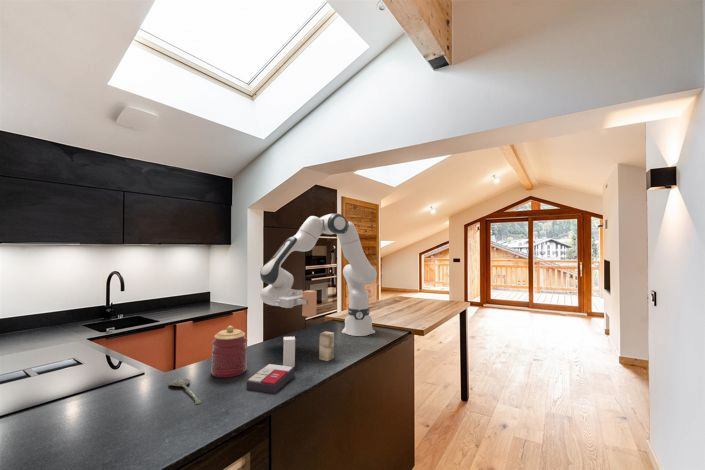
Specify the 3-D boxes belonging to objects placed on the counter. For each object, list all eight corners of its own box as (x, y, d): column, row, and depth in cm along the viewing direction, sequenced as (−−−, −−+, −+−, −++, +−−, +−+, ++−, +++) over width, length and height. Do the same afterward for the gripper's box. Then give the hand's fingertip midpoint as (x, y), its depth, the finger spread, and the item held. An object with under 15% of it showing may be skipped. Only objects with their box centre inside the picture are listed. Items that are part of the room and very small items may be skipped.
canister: (235, 380, 120) (236, 331, 121) (203, 376, 123) (204, 328, 124) (252, 367, 133) (253, 323, 134) (223, 364, 136) (224, 321, 136)
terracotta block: (308, 314, 153) (309, 290, 153) (316, 315, 151) (316, 291, 151) (302, 315, 149) (302, 291, 150) (309, 317, 147) (310, 292, 147)
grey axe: (186, 382, 120) (166, 388, 116) (186, 373, 120) (166, 378, 116) (208, 401, 104) (186, 409, 100) (208, 390, 104) (186, 398, 100)
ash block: (325, 356, 147) (325, 331, 148) (333, 358, 145) (334, 332, 145) (319, 359, 144) (319, 333, 144) (327, 361, 141) (327, 335, 141)
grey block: (283, 363, 137) (283, 336, 138) (294, 362, 138) (294, 336, 139) (283, 367, 133) (283, 340, 133) (294, 366, 134) (295, 339, 134)
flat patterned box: (245, 379, 113) (268, 362, 128) (245, 391, 113) (268, 373, 128) (274, 383, 110) (294, 365, 125) (274, 396, 110) (294, 376, 125)
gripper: (272, 294, 148) (295, 297, 141) (302, 289, 166) (324, 291, 158) (272, 308, 148) (295, 312, 141) (302, 301, 166) (324, 305, 158)
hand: (311, 301), depth 150 cm, fingers closed on terracotta block, 4 cm apart
